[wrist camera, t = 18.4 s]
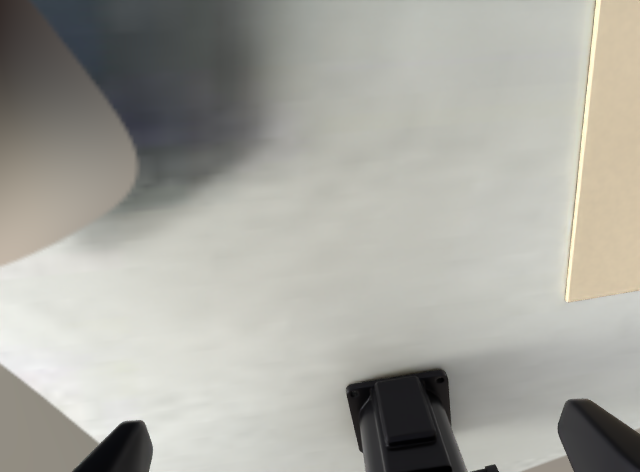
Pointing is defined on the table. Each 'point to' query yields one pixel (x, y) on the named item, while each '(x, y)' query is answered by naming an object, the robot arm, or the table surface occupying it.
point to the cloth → (609, 161)
